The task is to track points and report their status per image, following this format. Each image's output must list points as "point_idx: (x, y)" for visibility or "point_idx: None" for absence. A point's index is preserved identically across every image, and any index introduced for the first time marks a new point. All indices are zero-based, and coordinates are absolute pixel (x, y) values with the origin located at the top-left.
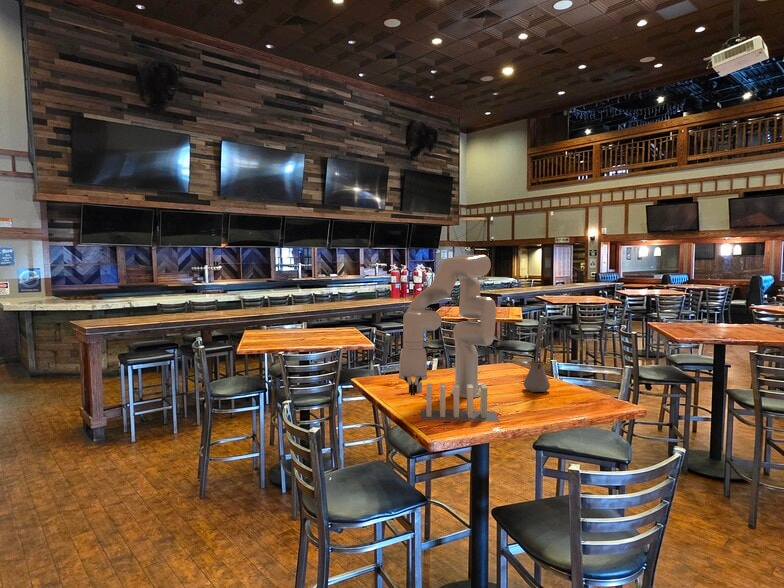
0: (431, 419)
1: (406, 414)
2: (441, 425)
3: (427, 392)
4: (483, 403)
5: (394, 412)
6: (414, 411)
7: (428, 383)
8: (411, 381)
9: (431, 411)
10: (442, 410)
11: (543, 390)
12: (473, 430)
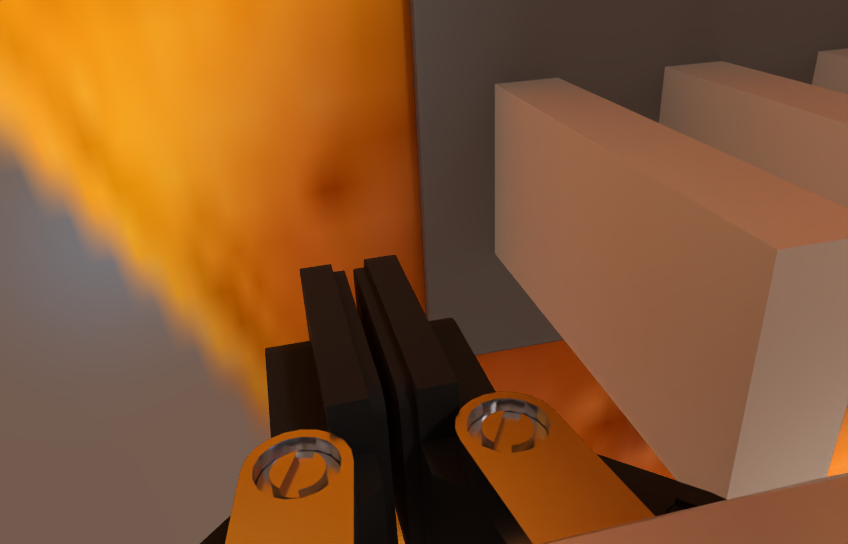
0: (547, 334)
1: (221, 177)
2: (623, 423)
3: (664, 443)
4: None
5: (6, 119)
6: (313, 10)
7: (822, 241)
8: (364, 523)
9: (563, 28)
10: None
11: None
12: (842, 453)
